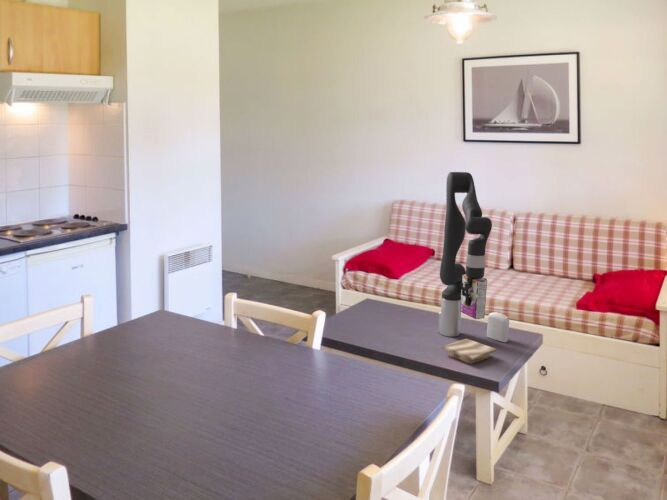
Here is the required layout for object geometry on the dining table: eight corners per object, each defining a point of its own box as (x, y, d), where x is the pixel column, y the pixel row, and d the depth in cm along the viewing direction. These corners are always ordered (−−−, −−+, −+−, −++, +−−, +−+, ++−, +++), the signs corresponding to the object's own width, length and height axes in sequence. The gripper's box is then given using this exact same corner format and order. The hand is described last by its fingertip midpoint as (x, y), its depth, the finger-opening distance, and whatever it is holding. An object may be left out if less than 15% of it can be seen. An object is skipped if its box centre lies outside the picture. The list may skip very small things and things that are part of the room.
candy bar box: (459, 311, 277) (461, 274, 273) (468, 310, 279) (471, 273, 275) (475, 319, 267) (477, 280, 263) (485, 318, 269) (488, 279, 265)
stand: (441, 355, 278) (442, 346, 277) (465, 347, 288) (466, 338, 287) (471, 366, 266) (472, 357, 265) (495, 358, 276) (496, 349, 275)
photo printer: (485, 337, 301) (487, 311, 299) (490, 335, 304) (492, 309, 301) (503, 343, 294) (505, 317, 291) (509, 341, 296) (511, 315, 294)
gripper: (479, 261, 276) (476, 299, 279) (457, 265, 267) (454, 305, 270) (493, 264, 270) (490, 303, 274) (471, 269, 261) (469, 309, 265)
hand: (472, 304), depth 272 cm, fingers closed on candy bar box, 5 cm apart
